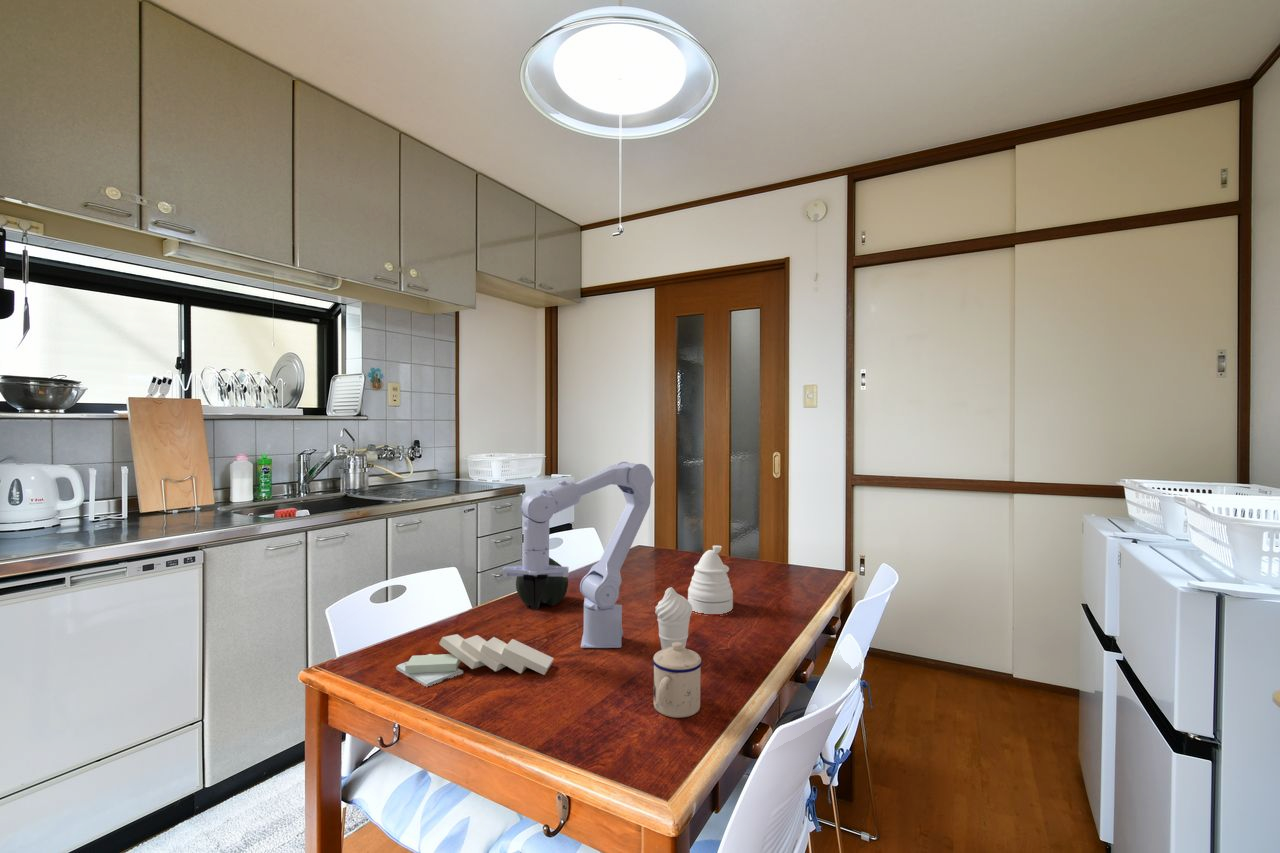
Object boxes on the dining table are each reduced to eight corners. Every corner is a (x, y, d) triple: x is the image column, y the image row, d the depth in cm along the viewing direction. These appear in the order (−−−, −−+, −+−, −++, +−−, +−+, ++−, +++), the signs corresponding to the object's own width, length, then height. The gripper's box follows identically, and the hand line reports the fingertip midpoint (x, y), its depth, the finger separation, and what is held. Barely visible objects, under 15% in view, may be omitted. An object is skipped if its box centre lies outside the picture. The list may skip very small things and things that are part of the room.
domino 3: (511, 658, 119) (477, 634, 123) (498, 664, 114) (462, 640, 118) (508, 665, 119) (474, 641, 123) (495, 671, 114) (459, 646, 118)
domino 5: (553, 658, 119) (512, 638, 120) (547, 668, 114) (504, 647, 115) (551, 664, 119) (509, 645, 120) (544, 675, 114) (501, 654, 115)
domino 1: (460, 653, 119) (412, 655, 117) (455, 663, 114) (405, 665, 113) (460, 661, 119) (412, 663, 117) (455, 671, 114) (405, 673, 113)
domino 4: (533, 658, 119) (493, 636, 121) (523, 666, 114) (482, 644, 116) (530, 664, 119) (491, 643, 121) (520, 673, 114) (480, 651, 116)
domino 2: (490, 657, 119) (457, 634, 123) (475, 661, 115) (442, 637, 119) (486, 664, 119) (454, 640, 123) (472, 669, 115) (439, 644, 119)
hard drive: (395, 665, 117) (426, 683, 109) (432, 652, 123) (463, 669, 115) (395, 672, 117) (426, 691, 109) (432, 660, 123) (463, 677, 115)
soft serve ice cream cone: (695, 654, 125) (696, 584, 125) (686, 670, 117) (687, 594, 118) (660, 649, 128) (661, 580, 128) (649, 664, 120) (650, 590, 120)
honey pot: (739, 606, 160) (740, 544, 160) (721, 619, 149) (722, 552, 149) (699, 598, 167) (700, 539, 167) (679, 610, 156) (680, 546, 156)
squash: (555, 595, 151) (564, 546, 161) (503, 594, 153) (516, 546, 163) (567, 617, 161) (575, 570, 171) (518, 615, 163) (529, 569, 173)
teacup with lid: (664, 690, 108) (664, 631, 108) (708, 701, 104) (709, 639, 104) (636, 719, 97) (637, 653, 97) (684, 732, 93) (685, 663, 93)
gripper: (500, 552, 120) (499, 614, 120) (567, 552, 121) (566, 614, 121) (506, 545, 127) (505, 604, 127) (569, 545, 128) (568, 604, 128)
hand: (535, 608), depth 124 cm, fingers closed
